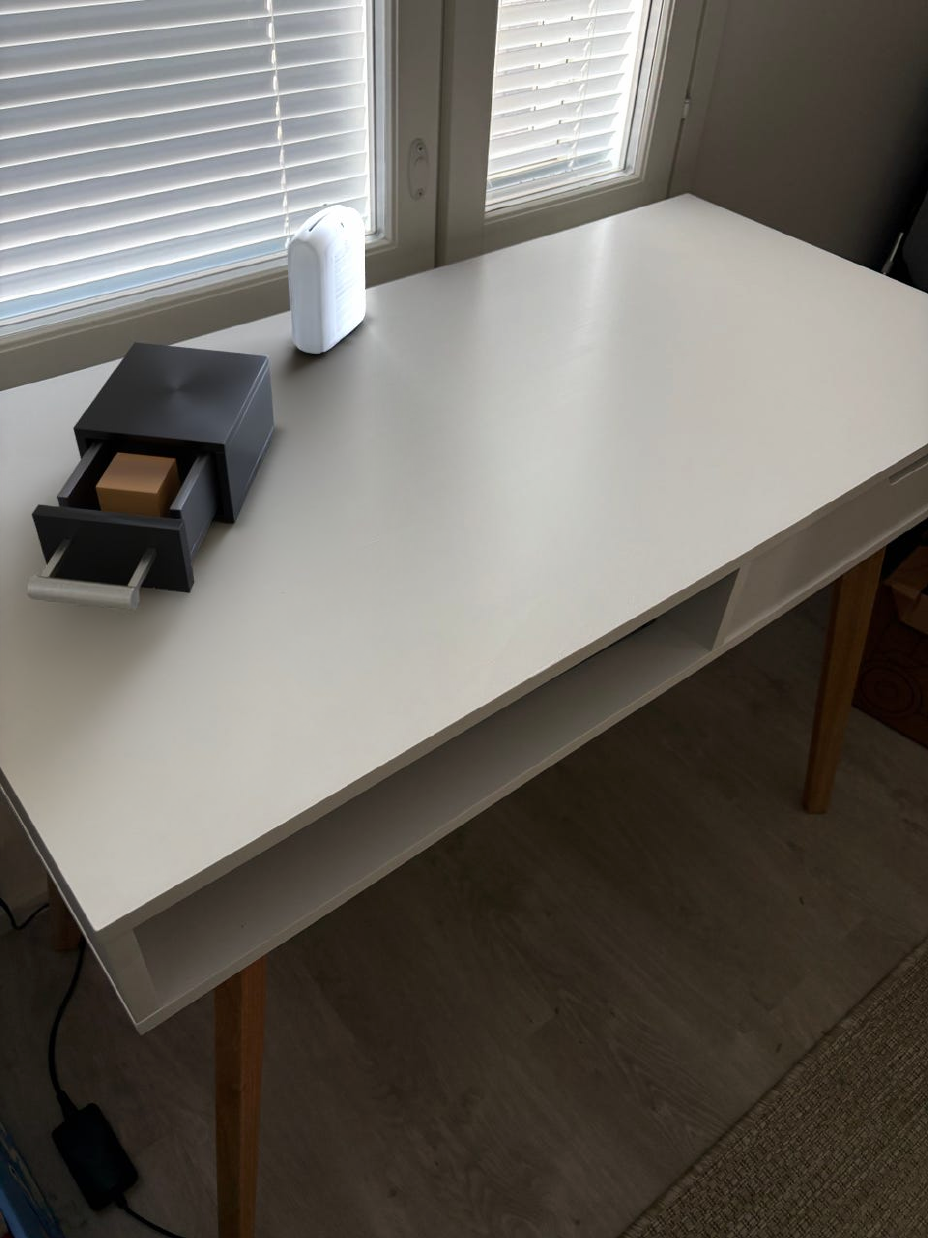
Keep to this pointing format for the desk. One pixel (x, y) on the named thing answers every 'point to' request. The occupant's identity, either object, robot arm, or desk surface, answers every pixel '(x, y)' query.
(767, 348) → the desk surface
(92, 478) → the drawer with bar handle
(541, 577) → the desk surface
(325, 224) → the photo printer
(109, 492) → the tan wooden cube
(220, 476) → the black drawer unit
